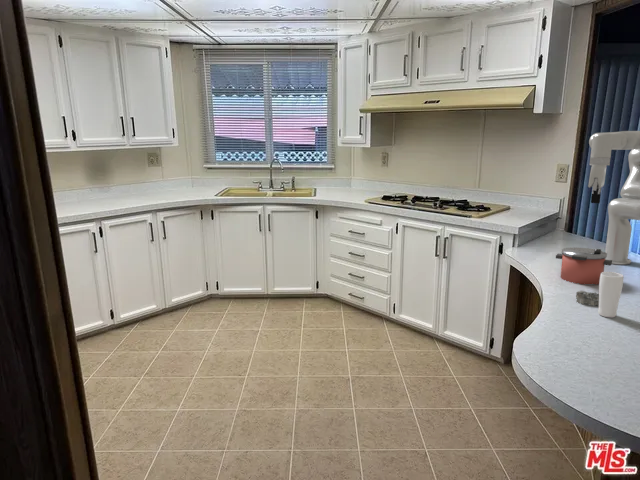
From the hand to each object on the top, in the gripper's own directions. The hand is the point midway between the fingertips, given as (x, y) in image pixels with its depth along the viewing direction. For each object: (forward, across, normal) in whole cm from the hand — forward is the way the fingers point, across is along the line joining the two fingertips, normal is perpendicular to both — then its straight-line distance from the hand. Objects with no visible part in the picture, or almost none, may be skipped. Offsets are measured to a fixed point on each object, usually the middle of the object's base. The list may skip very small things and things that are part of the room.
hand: (595, 202), depth 195 cm
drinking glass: (+32, +55, +15) cm, 66 cm away
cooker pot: (+32, +15, 0) cm, 35 cm away
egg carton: (+33, +44, +9) cm, 56 cm away
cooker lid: (+21, +16, 0) cm, 27 cm away
